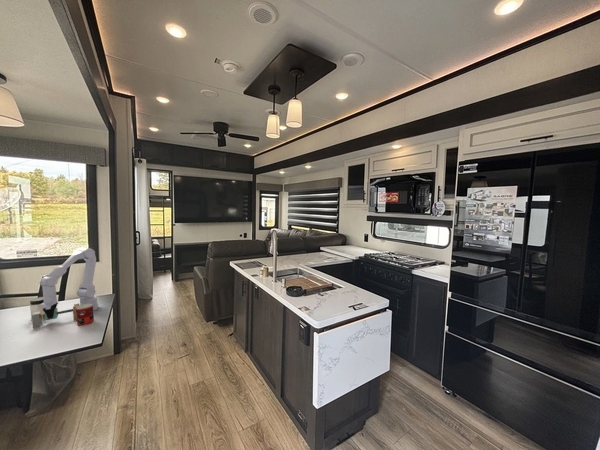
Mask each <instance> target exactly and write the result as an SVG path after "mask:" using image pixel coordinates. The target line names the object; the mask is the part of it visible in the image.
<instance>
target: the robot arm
mask: <svg viewBox="0 0 600 450" xmlns="http://www.w3.org/2000/svg"><path fill="white" fill-rule="evenodd" d="M78 260H84V262H85V265H84V271H83V277H82V283H81V284H80V285H79V286H78V289H77V291H76V295H77V297H79V305H83V304H93V311H97V310H98V307H99V303H98V295H95V294H96V288H95V287H96V286H95V284H93V282H94V277H95V270H96V264H97V256H96V251H95V250H94V249H92V248H90V247H88V248H87V247H78V248H76V249H75V250H74V251H73V252H72V254H71V255H70V256H69V257H68V258H67V259H66V261H64V262H63V263H62V264H61V265H59V266H55V267H53V269H52V271H51V272H49V273H47V275H46V276H43V277H42V278H41V279H40V281H39V282H38V283H39V285H40V286H41V289H42V297H43V300H44V303H42V304H41V305H44V306H45V308H43V311H44V312H45V313H46V315H47V318H48V319H51V318H53V316H54V310H55V308H58V307H57V306H58V304H59V302H58V297H57V287H56V285H57V284H58V282H59V279H60V278H61V277H62V276H64V274H66V273H67V271H68V268H69V267H71V266H72V265H73V264H74V263H75V262H77V261H78ZM51 320H52V319H51Z"/></svg>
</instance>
